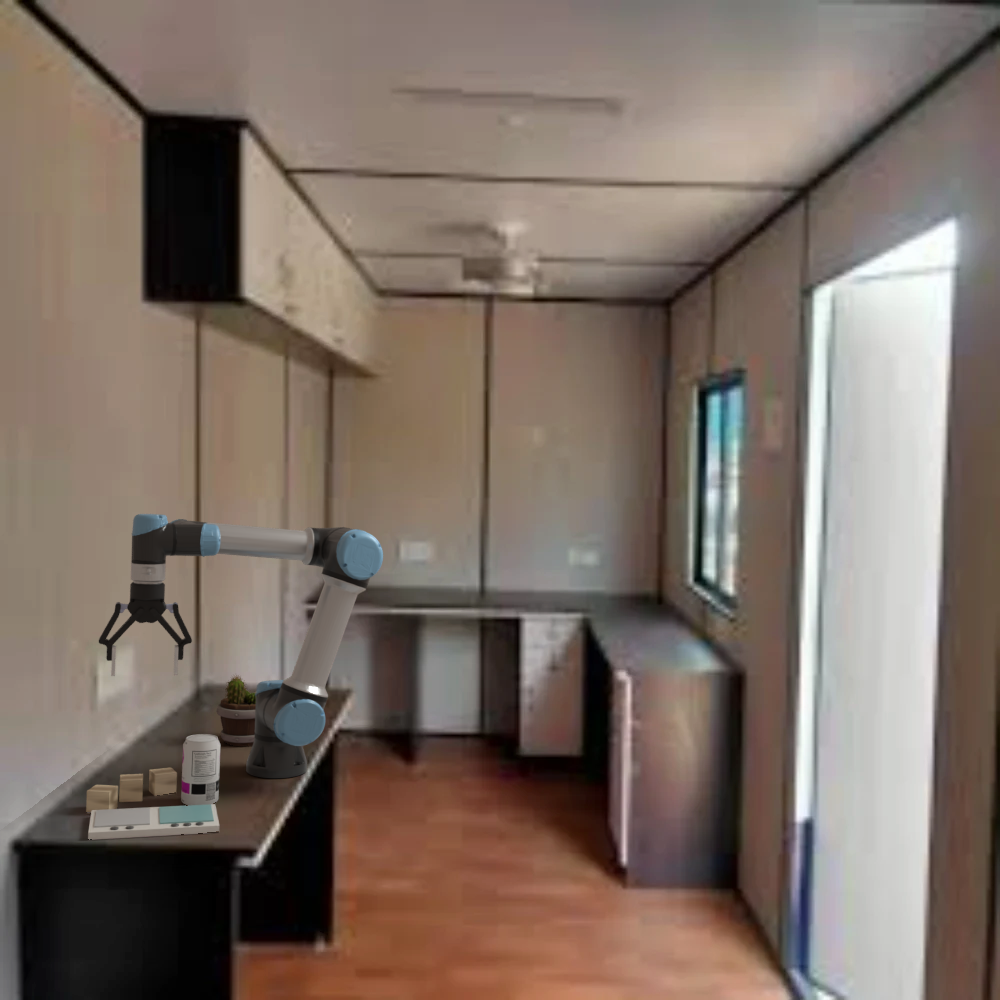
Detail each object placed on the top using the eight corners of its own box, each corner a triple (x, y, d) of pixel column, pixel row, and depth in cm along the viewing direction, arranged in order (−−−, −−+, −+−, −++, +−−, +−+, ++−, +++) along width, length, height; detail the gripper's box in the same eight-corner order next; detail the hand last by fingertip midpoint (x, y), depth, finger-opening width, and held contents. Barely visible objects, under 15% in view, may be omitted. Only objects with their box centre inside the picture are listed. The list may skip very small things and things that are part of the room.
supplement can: (173, 805, 253) (176, 739, 252) (194, 795, 260) (196, 731, 260) (205, 810, 250) (207, 743, 250) (224, 800, 258) (227, 735, 258)
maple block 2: (119, 796, 258) (120, 774, 258) (142, 795, 260) (143, 773, 259) (119, 802, 253) (119, 780, 253) (142, 801, 255) (143, 779, 255)
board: (91, 817, 242) (91, 808, 242) (214, 810, 250) (215, 802, 250) (88, 839, 228) (88, 831, 228) (219, 832, 236) (219, 824, 236)
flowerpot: (246, 733, 322) (248, 664, 321) (280, 743, 312) (283, 672, 311) (204, 741, 310) (206, 669, 310) (238, 752, 301) (241, 678, 300)
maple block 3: (148, 790, 263) (149, 769, 263) (170, 788, 266) (170, 767, 266) (154, 796, 259) (155, 775, 259) (176, 793, 262) (177, 772, 262)
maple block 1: (95, 806, 250) (96, 784, 250) (117, 808, 249) (118, 785, 249) (86, 813, 245) (86, 790, 245) (108, 814, 244) (109, 792, 244)
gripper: (88, 583, 247) (85, 678, 248) (205, 584, 255) (201, 676, 255) (90, 579, 254) (87, 672, 255) (203, 580, 262) (200, 670, 263)
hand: (144, 674), depth 255 cm, fingers open, 13 cm apart
